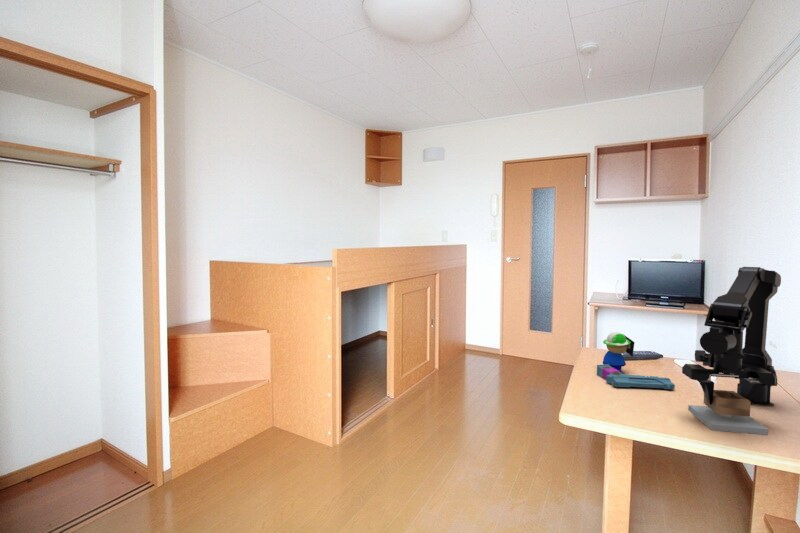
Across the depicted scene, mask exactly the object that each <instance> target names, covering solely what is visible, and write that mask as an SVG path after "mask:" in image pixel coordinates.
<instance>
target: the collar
mask: <svg viewBox="0 0 800 533" xmlns="http://www.w3.org/2000/svg"><path fill="white" fill-rule="evenodd" d="M703 404H704V406H708V407H709V408H711V409H712V410H713V411H715V412H716V413H717V414H723V415H735V416H748V417H751V405H752V404H751V401H749V400H747V399H746V398H744V397H743V396H741V395H739V394H738V393H737V391H734V390H726V389H725V390H724V389H723V390H722V389H714V392H713V401H712V404H711V405H710V404H708V402H707V400H706V397H705V394H704V393H703Z"/></svg>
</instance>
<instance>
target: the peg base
mask: <svg viewBox="0 0 800 533" xmlns="http://www.w3.org/2000/svg"><path fill="white" fill-rule="evenodd" d="M687 410H688V412H690V413H691V414H692V415H693V416H695V417H696V418H697V419H698V420H700V422H702V423H703V424H704V425H706V427H708V428H709V429H710V430H712V431H718V432H719V431H721V432H731V433H733V432H734V433H740V434H741V433H744V434H755V435H765V436H768V434H769V429H768V428H767V426H764V425H762V424H761V423H759V421H757V420H756V419H754V418H752V417H751V416H750V417H748V416H735V415H723V414H717V413H716V412H715V411H713V410H712V409H711V408H709V407H708V406H707V405H694V404H688V408H687Z"/></svg>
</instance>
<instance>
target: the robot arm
mask: <svg viewBox="0 0 800 533" xmlns="http://www.w3.org/2000/svg"><path fill="white" fill-rule="evenodd" d="M781 283H782V276H781V274H780V273H778V272H776V271H775V270H768V269H765V268H764V267H761V266H742V267H739V268H738V271H737V276H736V277H735V279H734V281H733V283H732V284H731V286H730V288H729V289H728V291H727V292H726V293H725V294H722V295H719V296H717V297H716V299H715V300H714V301H713V302H712V303H710V306H709V309H708V312H707V315H706V318H705V321H704V326H705V327H709V330H708V331H707V332H704V333H703V334H702V335H701V336H700V338H699V345H700V346H701V349H702V350H701V349H699V350H698V349H696V350H694V359H695V360H694V361H695V362H698V363H702V365H701V364H695V363H685V364H683V365H682V367H681V368H682V369H681V373H682V374H684V376H686V377H687V378H689V379H690V380H693V381H697V382H698V383H699V385H700V386H701V389H702V392H703V395H704V394H705V397H706V400H707V402H708V404H710V405H711V404H712V401H713V392H714V390H715V382H714V381H712V380H711V379H712V377H717V378H733V379H738V380H739V381H738V383H737V386H736V389H737V390H736V393H738V394H739V395H741V396H743V397H744V398H746V399H747V400H749V401H751V405H760V406H772V407H774V406H775V404H774V403H773V402H771V390H772V389H771V387H777V386H778V376H777V371H776V370H775V366H773V359H772V357H771V355H769V353H768V351H767V350H766V343H767V330H768V329H767V328H768V318H769V317H768V316H769V305H770V300H771V299H772V298H773V297H774V296H775V295H776V294H777V293H778V288H779V287H780V286H781V285H782V284H781ZM744 331H745V337H744ZM743 343H744V347H743ZM704 366H705V367H704ZM706 367H709V368H706Z"/></svg>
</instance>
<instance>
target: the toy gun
mask: <svg viewBox="0 0 800 533" xmlns="http://www.w3.org/2000/svg"><path fill="white" fill-rule="evenodd" d="M596 376H598V377H599V376H600V377H601V378H602V379H604V380H605V382H606V384H609V385H611V386H613V387H617V388H632V387H633V388H645V389H646V388H648V389H649V388H650V389H652V388H653V389H664V390H675V386H676V385H675V384H674V383H673V382H672V380H671V379H670V378H669V377H659V376H655V375H654V376H652V375H650V376H649V375H636V374H624V373H622V371H621V372H620V371H619V370H617V369H615V368H612V367H611V366H610V365H609V364H596Z"/></svg>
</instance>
